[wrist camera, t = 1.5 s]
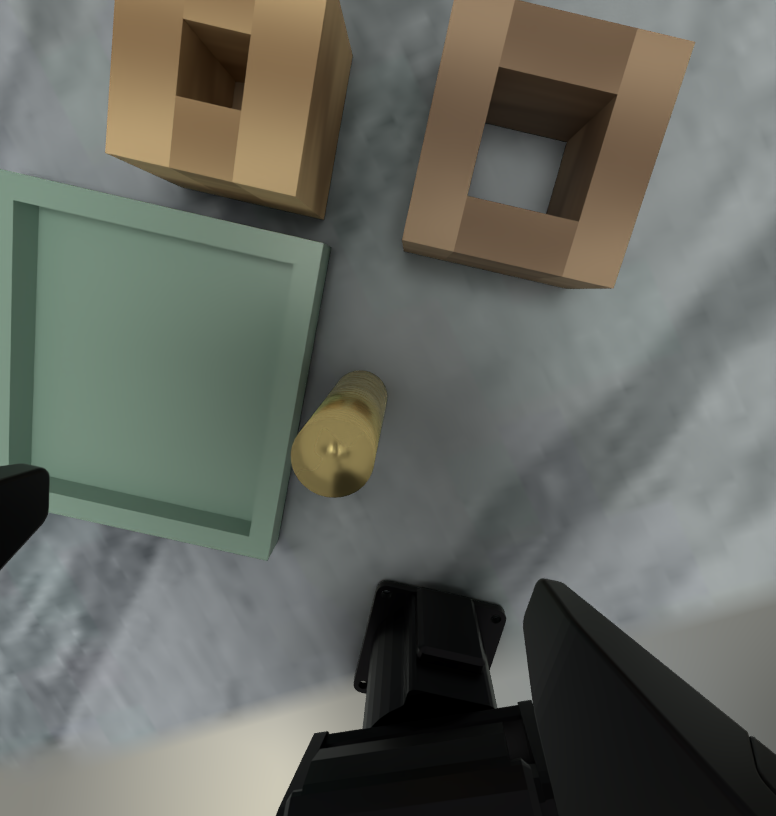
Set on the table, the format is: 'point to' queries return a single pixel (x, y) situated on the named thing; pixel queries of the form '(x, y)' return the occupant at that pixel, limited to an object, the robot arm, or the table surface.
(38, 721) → the table surface
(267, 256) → the green tray
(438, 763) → the robot arm
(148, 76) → the oak block
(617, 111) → the walnut block
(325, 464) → the brass pin
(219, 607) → the table surface
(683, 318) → the table surface
